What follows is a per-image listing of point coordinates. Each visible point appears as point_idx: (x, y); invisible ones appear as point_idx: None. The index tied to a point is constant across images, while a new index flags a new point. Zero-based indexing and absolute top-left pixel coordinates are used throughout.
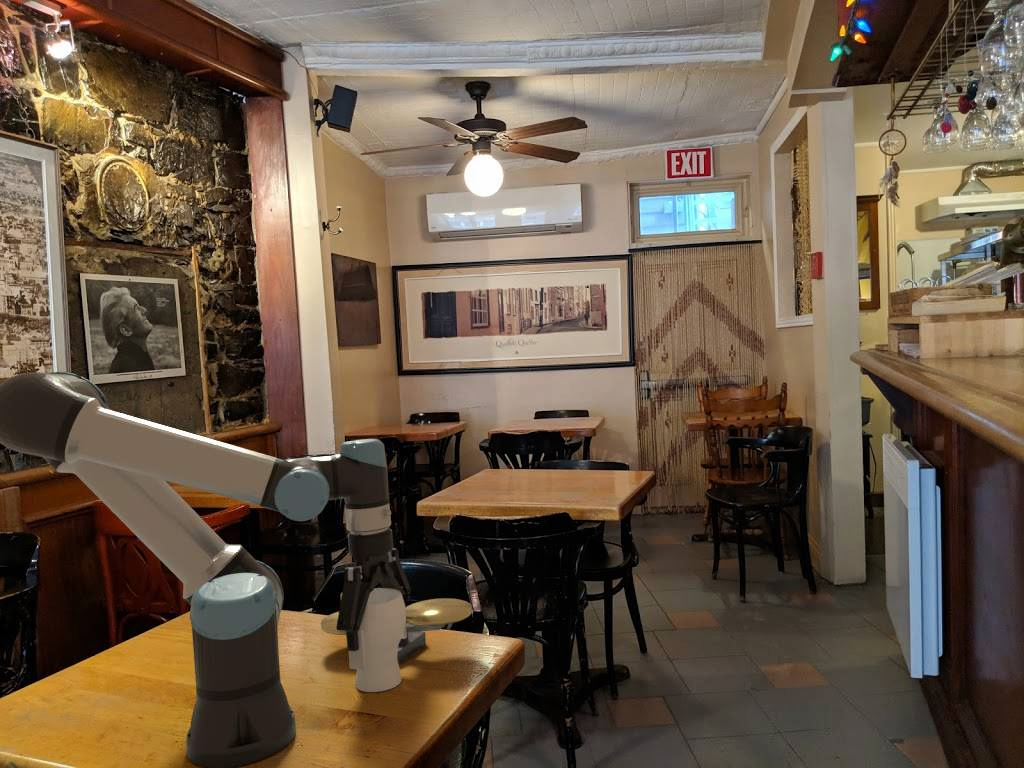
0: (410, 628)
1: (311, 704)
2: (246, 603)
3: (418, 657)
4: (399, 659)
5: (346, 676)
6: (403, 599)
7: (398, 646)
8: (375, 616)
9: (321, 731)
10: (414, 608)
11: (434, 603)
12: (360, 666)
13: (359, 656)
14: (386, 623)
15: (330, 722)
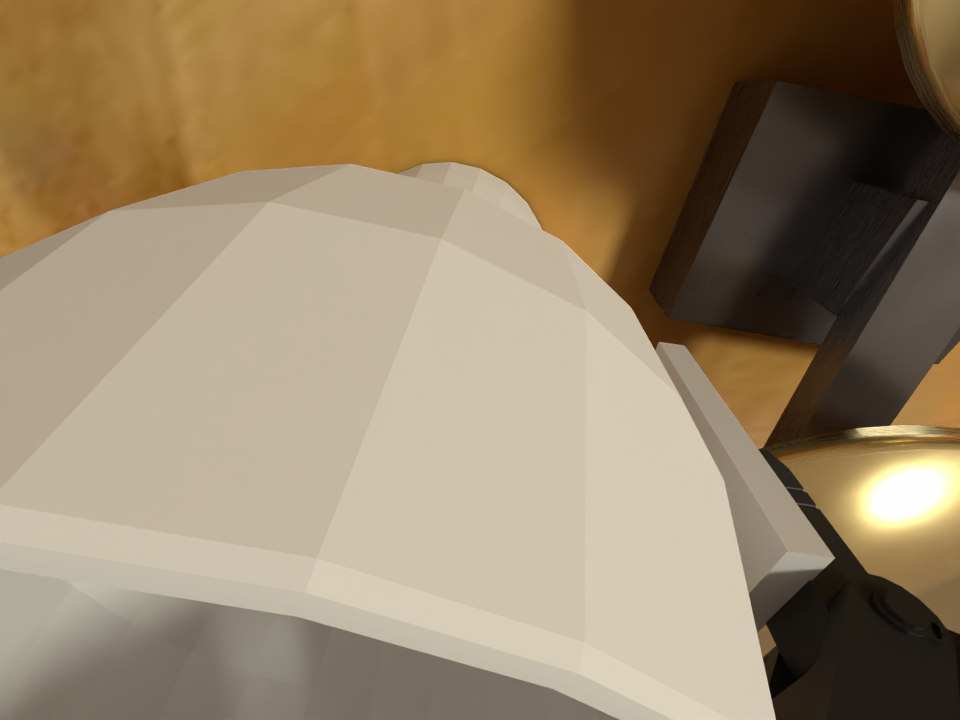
0: (812, 395)
1: (153, 10)
2: None
3: (717, 342)
4: (656, 298)
5: (509, 48)
6: (770, 657)
7: (742, 293)
8: (93, 663)
9: (20, 209)
10: (924, 510)
11: None
12: None
13: None
14: (219, 620)
15: (88, 212)
